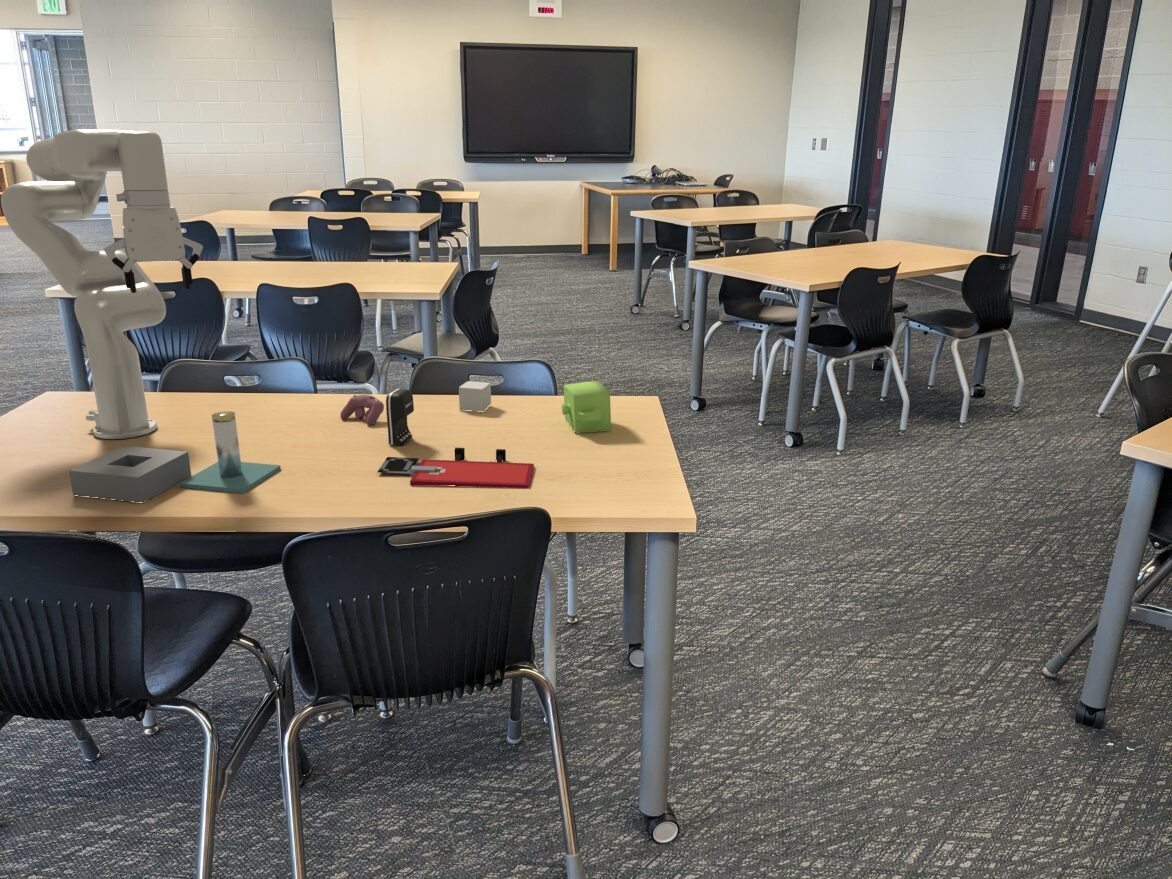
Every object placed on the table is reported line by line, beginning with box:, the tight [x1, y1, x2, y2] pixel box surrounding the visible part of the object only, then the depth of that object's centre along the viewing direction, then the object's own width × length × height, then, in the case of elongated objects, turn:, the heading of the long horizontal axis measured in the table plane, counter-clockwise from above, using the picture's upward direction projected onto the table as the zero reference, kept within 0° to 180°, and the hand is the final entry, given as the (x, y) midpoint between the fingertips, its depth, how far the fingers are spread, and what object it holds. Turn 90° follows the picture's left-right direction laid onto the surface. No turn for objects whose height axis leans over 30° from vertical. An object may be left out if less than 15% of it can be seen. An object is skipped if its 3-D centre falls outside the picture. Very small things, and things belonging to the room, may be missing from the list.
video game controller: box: [340, 394, 385, 427], centre depth 202 cm, size 10×5×7 cm, turn 58°
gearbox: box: [561, 380, 612, 434], centre depth 200 cm, size 18×10×10 cm, turn 14°
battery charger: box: [385, 388, 415, 446], centre depth 186 cm, size 7×4×11 cm, turn 168°
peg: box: [211, 410, 242, 478], centre depth 164 cm, size 4×4×12 cm
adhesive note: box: [458, 380, 492, 412], centre depth 212 cm, size 6×6×6 cm
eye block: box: [68, 445, 192, 503], centre depth 161 cm, size 14×14×5 cm
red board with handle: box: [377, 447, 535, 489], centre depth 171 cm, size 30×3×15 cm
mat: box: [179, 461, 282, 494], centre depth 166 cm, size 13×13×1 cm
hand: (160, 290), depth 171 cm, fingers open, 9 cm apart
